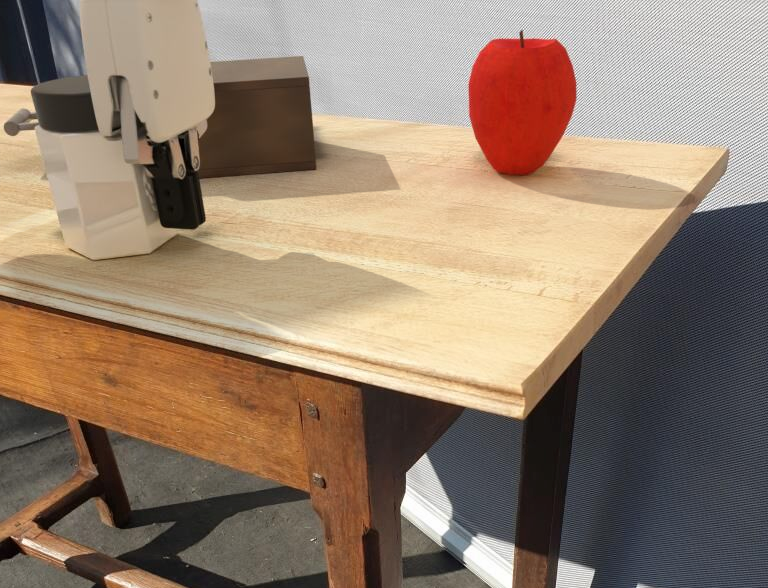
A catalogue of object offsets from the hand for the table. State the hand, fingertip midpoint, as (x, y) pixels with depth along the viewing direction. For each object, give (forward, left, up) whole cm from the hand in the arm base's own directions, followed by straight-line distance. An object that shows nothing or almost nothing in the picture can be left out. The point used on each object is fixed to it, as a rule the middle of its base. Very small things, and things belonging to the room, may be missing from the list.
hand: (183, 224), depth 66 cm
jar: (-6, -2, -2) cm, 6 cm away
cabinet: (-14, +23, -2) cm, 27 cm away
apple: (+14, +31, -2) cm, 34 cm away
